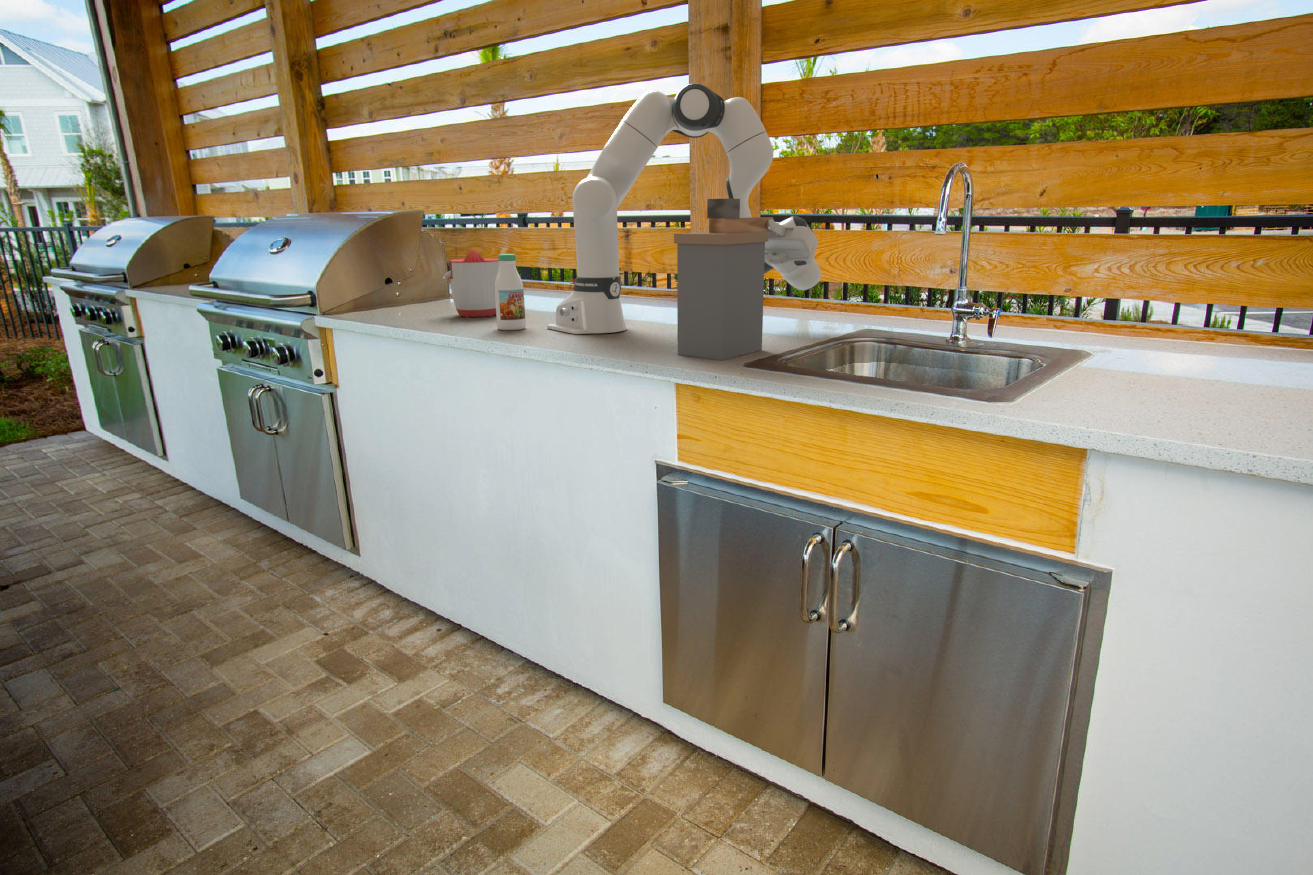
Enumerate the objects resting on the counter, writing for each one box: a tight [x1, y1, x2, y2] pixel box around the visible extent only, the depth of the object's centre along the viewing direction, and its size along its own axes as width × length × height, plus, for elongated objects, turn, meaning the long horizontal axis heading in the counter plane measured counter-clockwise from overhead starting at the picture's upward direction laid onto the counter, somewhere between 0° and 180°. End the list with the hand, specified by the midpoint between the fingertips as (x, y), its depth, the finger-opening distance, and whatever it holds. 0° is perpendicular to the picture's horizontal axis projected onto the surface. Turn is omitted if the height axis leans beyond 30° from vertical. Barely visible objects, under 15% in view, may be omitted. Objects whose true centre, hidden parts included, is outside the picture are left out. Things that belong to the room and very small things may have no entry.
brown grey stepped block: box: [706, 198, 774, 233], centre depth 170 cm, size 5×20×7 cm, turn 141°
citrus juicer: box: [442, 249, 500, 319], centre depth 235 cm, size 16×17×20 cm
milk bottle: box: [495, 253, 527, 331], centre depth 208 cm, size 8×8×20 cm
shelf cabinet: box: [673, 231, 769, 361], centre depth 169 cm, size 13×17×26 cm
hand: (758, 222), depth 175 cm, fingers closed on brown grey stepped block, 4 cm apart
